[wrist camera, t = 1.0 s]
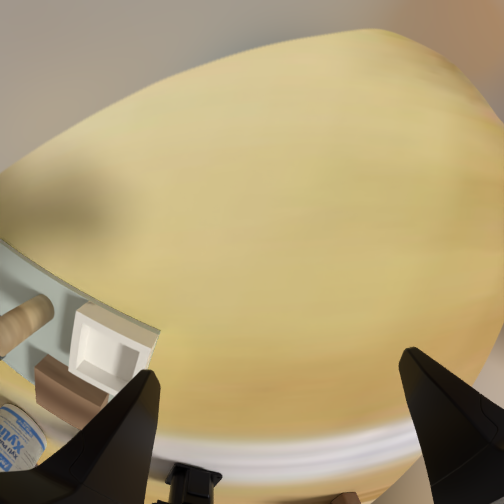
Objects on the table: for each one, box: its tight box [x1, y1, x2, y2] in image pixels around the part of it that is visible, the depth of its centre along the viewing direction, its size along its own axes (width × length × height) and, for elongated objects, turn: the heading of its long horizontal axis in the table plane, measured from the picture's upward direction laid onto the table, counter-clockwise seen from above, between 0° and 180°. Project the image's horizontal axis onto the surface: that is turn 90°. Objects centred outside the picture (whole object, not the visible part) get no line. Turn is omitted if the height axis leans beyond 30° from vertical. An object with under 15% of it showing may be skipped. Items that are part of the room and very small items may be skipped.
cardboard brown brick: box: [34, 354, 109, 430], centre depth 20 cm, size 6×8×3 cm
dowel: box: [0, 294, 54, 357], centre depth 16 cm, size 3×3×8 cm
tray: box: [68, 301, 158, 396], centre depth 20 cm, size 7×7×2 cm
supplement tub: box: [0, 404, 47, 472], centre depth 16 cm, size 10×10×15 cm
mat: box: [0, 239, 160, 403], centre depth 21 cm, size 16×21×1 cm
